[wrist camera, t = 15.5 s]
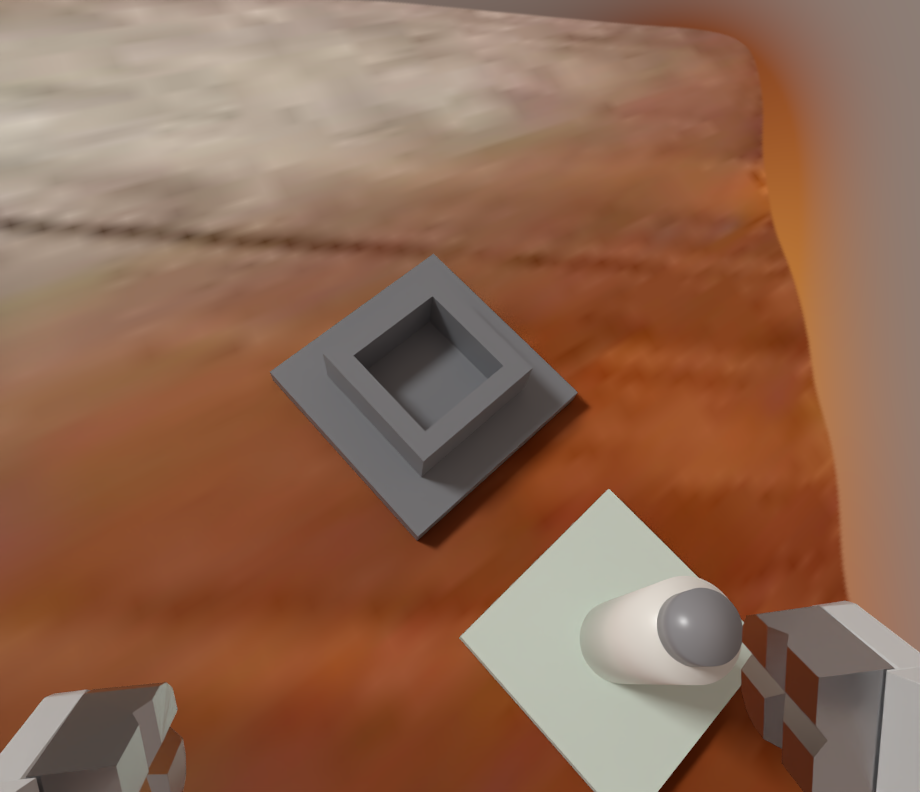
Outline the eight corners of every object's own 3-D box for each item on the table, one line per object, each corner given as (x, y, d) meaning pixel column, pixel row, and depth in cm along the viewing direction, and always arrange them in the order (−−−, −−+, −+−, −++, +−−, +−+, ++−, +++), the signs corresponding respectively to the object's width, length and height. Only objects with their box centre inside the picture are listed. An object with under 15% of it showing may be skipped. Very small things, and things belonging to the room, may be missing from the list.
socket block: (417, 540, 32) (420, 525, 28) (273, 380, 34) (260, 349, 31) (572, 399, 35) (591, 371, 32) (432, 264, 38) (436, 225, 34)
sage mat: (622, 824, 28) (628, 828, 27) (459, 637, 30) (460, 636, 29) (760, 649, 31) (769, 648, 30) (604, 492, 33) (609, 488, 33)
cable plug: (621, 702, 29) (715, 711, 20) (563, 639, 30) (631, 622, 21) (671, 643, 30) (780, 629, 22) (614, 584, 31) (698, 548, 22)
